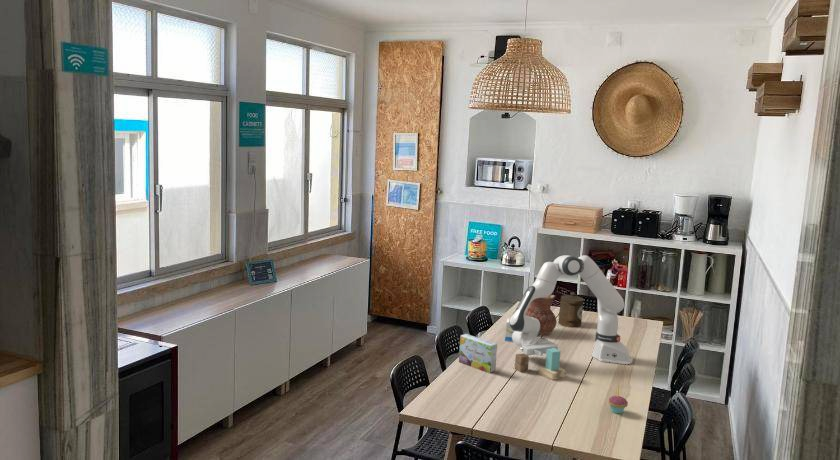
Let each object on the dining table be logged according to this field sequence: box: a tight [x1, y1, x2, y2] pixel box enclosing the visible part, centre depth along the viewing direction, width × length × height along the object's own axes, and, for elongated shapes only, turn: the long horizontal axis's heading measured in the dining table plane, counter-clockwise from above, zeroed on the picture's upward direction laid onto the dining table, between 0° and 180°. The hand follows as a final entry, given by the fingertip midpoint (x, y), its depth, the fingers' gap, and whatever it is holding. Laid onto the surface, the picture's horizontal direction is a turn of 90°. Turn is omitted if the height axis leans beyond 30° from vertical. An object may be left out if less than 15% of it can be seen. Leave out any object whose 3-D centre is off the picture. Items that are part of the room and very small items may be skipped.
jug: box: [525, 294, 557, 336], centre depth 418 cm, size 22×21×25 cm
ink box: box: [504, 318, 514, 342], centre depth 402 cm, size 9×8×12 cm
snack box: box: [458, 333, 498, 374], centre depth 351 cm, size 21×6×15 cm, turn 47°
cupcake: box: [608, 386, 629, 414], centre depth 303 cm, size 9×8×12 cm
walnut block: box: [514, 353, 530, 373], centre depth 350 cm, size 5×5×8 cm
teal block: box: [544, 348, 561, 371], centre depth 344 cm, size 5×5×10 cm
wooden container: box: [558, 291, 584, 328], centre depth 441 cm, size 15×15×22 cm
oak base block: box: [537, 365, 567, 381], centre depth 345 cm, size 10×10×4 cm
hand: (548, 353), depth 347 cm, fingers open, 8 cm apart
